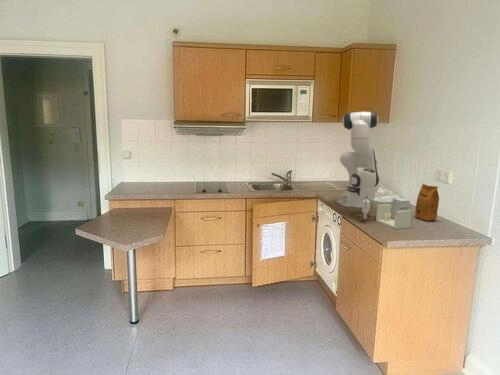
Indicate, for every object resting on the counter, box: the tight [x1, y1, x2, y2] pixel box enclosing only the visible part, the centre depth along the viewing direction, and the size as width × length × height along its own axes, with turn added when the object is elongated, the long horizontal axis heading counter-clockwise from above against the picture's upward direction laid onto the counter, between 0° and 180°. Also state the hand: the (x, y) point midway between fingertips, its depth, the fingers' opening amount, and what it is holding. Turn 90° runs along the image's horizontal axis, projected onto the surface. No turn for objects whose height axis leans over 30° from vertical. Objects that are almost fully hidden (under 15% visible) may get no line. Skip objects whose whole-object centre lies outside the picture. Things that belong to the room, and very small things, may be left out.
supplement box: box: [391, 198, 411, 220], centre depth 226 cm, size 7×7×13 cm
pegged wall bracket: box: [374, 203, 412, 230], centre depth 213 cm, size 18×10×10 cm, turn 21°
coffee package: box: [414, 183, 440, 222], centre depth 227 cm, size 10×12×22 cm
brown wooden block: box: [353, 212, 376, 221], centre depth 223 cm, size 14×5×4 cm, turn 100°
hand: (365, 216), depth 223 cm, fingers open, 8 cm apart
